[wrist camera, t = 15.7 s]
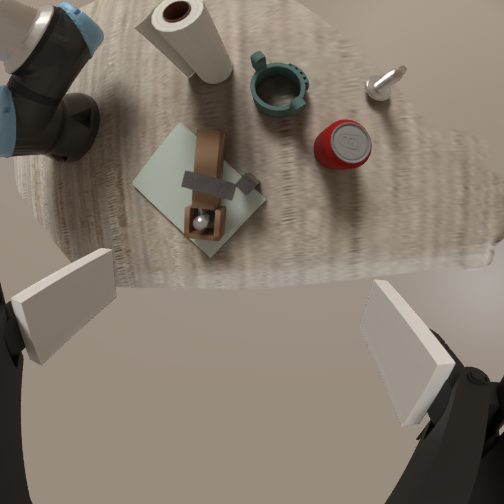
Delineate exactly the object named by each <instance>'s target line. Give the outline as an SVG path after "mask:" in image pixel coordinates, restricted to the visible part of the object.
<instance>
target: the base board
mask: <svg viewBox="0 0 504 504" xmlns="http://www.w3.org/2000/svg"><path fill="white" fill-rule="evenodd" d="M196 138H197V136H196V135H195V134H194V133H193V132H192V131H190V130H189V129H188V128H187V127H186V126H185V125H183V124H182V123H179V124H178V125H177V126H176V127H175V128H174V130H173V131H172V132H171V133H170V134H169V135H168V137H167V138H166V139H165V140H164V142H163V143H162V144H161V145H160V147H159V148H158V149H157V150H156V152H155V153H154V154H153V155H152V157H151V158H150V159H149V161H148V162H147V163H146V165H145V166H144V167H143V169H142V170H141V171H140V173H139V174H138V175H137V177H136V178H135V180H134V181H133V182H132V184H133V185H134V186H135V187H136V188H137V189H138V190H139V191H140V192H141V193H142V194H143V195H144V196H145V197H146V198H147V199H148V200H149V201H150V202H151V203H152V204H153V205H154V206H155V207H157V208H158V209H159V210H160V211H161V212H162V213H163V214H164V215H165V216H166V217H167V218H168V219H169V220H170V221H171V222H172V223H173V224H174V225H176V226H177V227H178V228H179V229H180V230H181V231H182V232H183V233H184V217H185V207H187V206H189V205H192V190H191V189H188V188H184V187H181V185H182V181H183V177H184V173H185V171H186V170H187V171H191V172H194V161H195V149H196ZM241 177H242V176H241V175H240V174H239V173H238V172H237V171H236V170H235V169H234V168H232V167H231V166H230V165H229V164H228V163H227V162H226V161H225V160H224V164H223V176H222V180H226V181H229V182H233V183H237V182H238V180H239V179H240V178H241ZM265 200H266V198H265V197H264V196H263V195H262V194H261V193H260V192H258V191H257V190H256V189H255V188H254V189H253V190H252V191H251V192H250V193H249V194H248V195H245V194H244V193H243V192H242V191H240V190H239V189H238V188H237V187H236V190H235V193H234V197H233V200H232V201H231V200H228V199H224V198H221V202H220V206H219V207H221V206H226V219H225V233H224V235H223V237H222V238H221V239H220V240H219V242H218V241H209V240H199V239H191V240H192V241H193V242H194V243H195V244H196V245H197V246H198V247H199V248H200V249H201V250H202V251H204V252H205V253H206V254H207V255H208V256H209V257H210V258H211V257H212V256H213V255H214V254H215V253H216V252H217V251H218V250H219V249H220V248H221V246H222V245H223V244H224V243H225V242H226V241H227V240H228V239H229V238H230V237H231V236H232V235H233V234H234V233H235V232H236V231H237V230H238V228H239V227H240V226H241V225H242V224H243V223H244V222H245V221H246V220H247V219H248V218H249V217H250V216H251V215H252V214H253V213H254V212H255V211H256V210H257V209H258V208H259V207H260V206H261V205H262V204H263V202H264V201H265ZM219 207H217V208H216V209H218V208H219ZM216 209H214V210H212V211H213V212H214V213H215V210H216ZM208 210H210V209H198V216H199V215H201V214H202V213H204V212H206V211H208ZM214 224H215V219H214V221H212V222H211V223H210V224H209V225H207V226H206V227H205V228H213V229H214ZM189 239H190V238H189Z"/></svg>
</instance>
